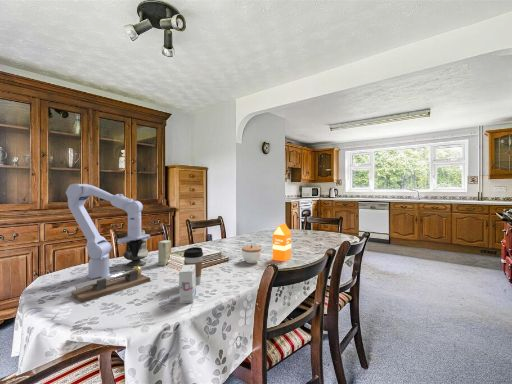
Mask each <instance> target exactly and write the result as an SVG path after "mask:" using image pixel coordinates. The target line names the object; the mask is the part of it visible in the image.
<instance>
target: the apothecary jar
mask: <svg viewBox="0 0 512 384" xmlns="http://www.w3.org/2000/svg"><path fill="white" fill-rule="evenodd" d="M145 234H146V232H145V230H144V229H141V235H145ZM125 237H128V231H127V233H126V235H124V237H123V238H125ZM148 240H149V239H143V240H141V241H143V243H142V245H141V246H140V249H139V252H138V256H137V257H133V256H132V253H131V250H130V248H129V246H128V244H127V242H126V243H125V244H126V249H125V251H124V252H123V258H125V260H127V261H129V262H126V264H125V266H126V267H128V268H133V267H134V266H138V265H139V266H140V267H142V266H146V264H147V262H146V261H144V260H143V259H145V258H147V256H148V255H149V250H148V249H147V246H146V243H147V241H148Z"/></svg>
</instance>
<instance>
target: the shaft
mask: <svg viewBox="0 0 512 384" xmlns="http://www.w3.org/2000/svg"><path fill="white" fill-rule="evenodd" d="M132 269H133V270H129V271H126V272H125V271H121V272H119V273H114V274H112V275H110V276H107V277H103V278H99V279H95V280H92V279H91V280H88V281H85V282H81V283H76V284H75V285H74V287H75V288H74V289H75V291H76V290H80V289H83V288H87V287H91V286H93V285H97V280H100V279H104V278H105V279H106V282H108V281H112V280H116V279H119V278H123V277H125V276H129V272H130V271H134V270H138V276H139V275H141V274H142V266H139V265H138V266H134V267H132Z"/></svg>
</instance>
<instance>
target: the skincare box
mask: <svg viewBox="0 0 512 384" xmlns="http://www.w3.org/2000/svg"><path fill="white" fill-rule="evenodd" d="M157 249H158V250H157V251H158V254H157V257H158V258H157V261H158V262H157V263H158V264H157V265H158V266H167V265H168V264H167V262H168V260H169V258H170V254H171V255H172V240H169V239H168V240H167V239H164V240H161V241H158V246H157ZM166 264H167V265H166Z"/></svg>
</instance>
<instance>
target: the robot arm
mask: <svg viewBox="0 0 512 384" xmlns="http://www.w3.org/2000/svg"><path fill="white" fill-rule="evenodd" d="M65 195H66V197H67V207H68V209H69V211H70V212H71V214H72V216H73V219H75V221H76V223H77V225H78V227H79V228H80V230H81V231H82V232H81V233H82V234H83V236H84V237H85V239H86V240H87V242H86V245H85V247H86V249H87V255H88V257H89V260H88V262H87V263H88V264H87V265H88V267H87V268H88V270H87V271H88V274H87V275H86V276H85V277H87V278H89V279H90V280H92V278H95V277H99V276H101V277H102V278H103V277H107V276H110V275H113V273H110V253H111V251H112V248H113V247H112V244H111V242H109V241H107V239H106V238H105V237H104V236H103V235H100V232H99V231H98V229H97V227H96V225H95V223H94V221H93V220H92V218H91V216H90V215H89V213H88V211H87V209H86V207H85V204H86V201H88V199H90V197H91V196H93V197H96V198H98V199H99V198H100V199H101V200H105V201H107V202H110V204H111V205H112V206H113V207H115V208H118V209H121V210H123V211H125V212H126V214H127V232H128V237H125V236H124V237H125V238H124V237H122V238H117V244H118V245H121V244H126V242H127V244H128V246H129V248H130V250H131V253H132V256H133V257H137V256H138V252H139V249H140V246H141V245H142V243H143V241H141V240H143V239H148V240H149V239H151V234H148V233H147V234H146V233H145V235H141V230H142V211H143V209H144V205H143V203H142V202H141V201H139V200H134V198H128V197H126V196H124V194H123V193H117V194H111V193H110V192H108V191H106V190H103V189H101V188H99V187H97V186H95V185H91V184H89V183H72V184H69V185H68V187H67V188H66V191H65Z"/></svg>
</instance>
